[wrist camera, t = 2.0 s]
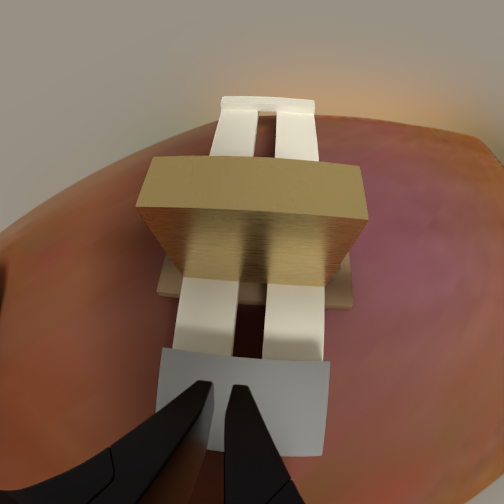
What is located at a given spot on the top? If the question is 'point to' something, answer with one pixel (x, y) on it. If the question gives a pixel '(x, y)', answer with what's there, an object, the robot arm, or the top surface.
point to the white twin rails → (276, 316)
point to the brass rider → (254, 216)
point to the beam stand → (256, 293)
